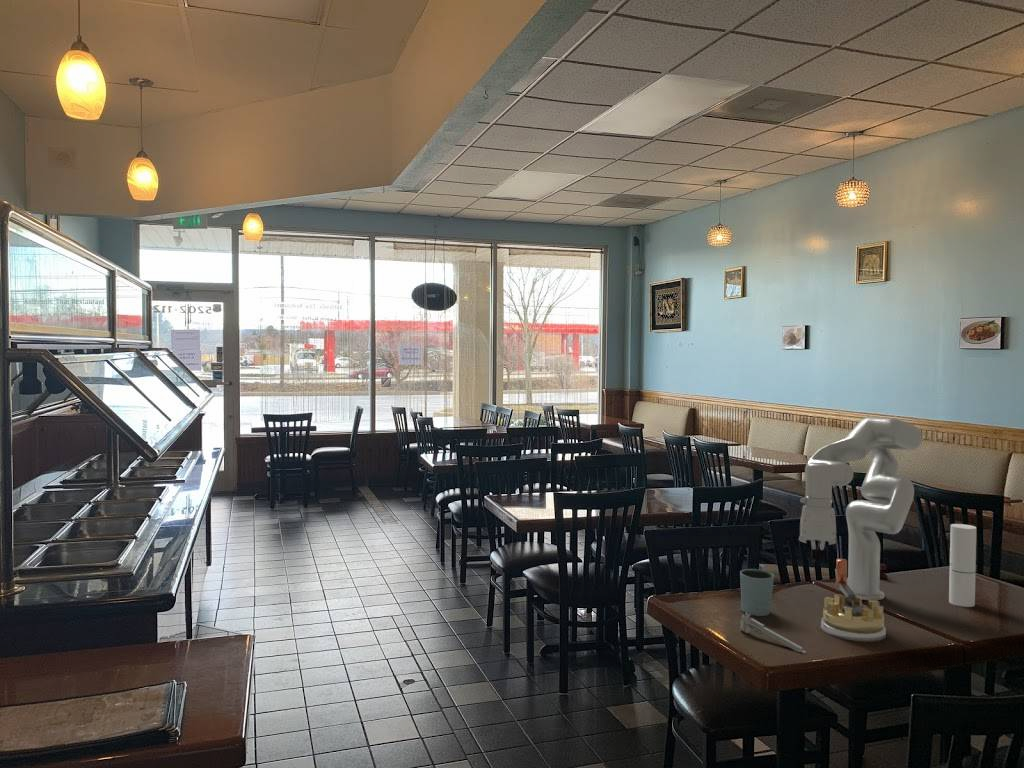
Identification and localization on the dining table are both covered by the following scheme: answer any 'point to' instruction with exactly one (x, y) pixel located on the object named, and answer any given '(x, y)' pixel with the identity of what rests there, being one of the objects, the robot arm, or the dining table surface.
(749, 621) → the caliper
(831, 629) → the plate
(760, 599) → the grey green cup
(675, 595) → the dining table surface
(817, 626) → the dining table surface
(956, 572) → the cylindrical container
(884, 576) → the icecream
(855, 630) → the crank handle mechanism
